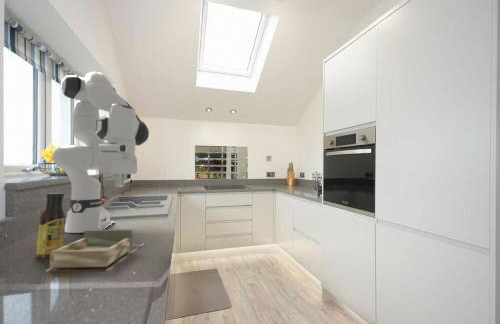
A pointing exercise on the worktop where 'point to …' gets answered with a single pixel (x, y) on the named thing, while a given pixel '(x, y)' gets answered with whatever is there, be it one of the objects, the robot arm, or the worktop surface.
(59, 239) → the sauce bottle
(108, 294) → the worktop surface
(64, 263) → the shallow wooden tray
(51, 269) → the flat board
